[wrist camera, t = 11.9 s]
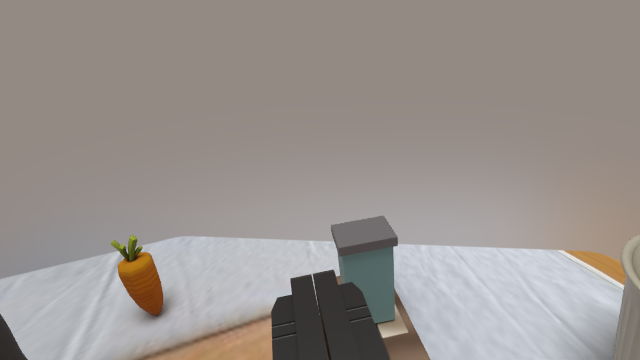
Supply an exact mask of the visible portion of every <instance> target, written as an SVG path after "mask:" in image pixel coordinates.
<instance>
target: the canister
mask: <svg viewBox="0 0 640 360" xmlns="http://www.w3.org/2000/svg"><path fill="white" fill-rule="evenodd" d="M621 263H622V267H623V270H624V272H625V274H626V280H625V286H624V291H623V297H622V304H621V309H620V315H619V321H618V327H617V333H616V341H615V349H614V357H613V360H640V234H639V235H637V236H635V237H634V238H632V239H630V240H629V241H628V242H627V243H626V244H625V246H624V247H623V250H622V253H621Z"/></svg>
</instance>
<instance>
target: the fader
mask: <svg viewBox="0 0 640 360" xmlns="http://www.w3.org/2000/svg"><path fill="white" fill-rule="evenodd" d="M331 231H332V235H333V238H334V241H335V244H336V248H337V251H338V260H339V268H340V277H341V284H344V283H349V282H352V283H354V284H355V285H356V286H357V287H358V288H359V289H360V290H361V291H362V292H363V295H364V298H365V300H366V303H367V306H368V308H369V310H370V313H371V316H372V318H373V320H374V323H379V322H384V321H389V320H393V319H395V297H394V261H393V246H398V240H397V239H398V238H397V235H396V234H395V233H394V231H393V229H392V228H391V226H390V225H389V224H388V222H387V220H386V219H385V217H384V216H379V217H374V218H368V219H363V220H358V221H352V222H346V223H341V224H335V225H331Z"/></svg>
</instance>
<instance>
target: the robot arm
mask: <svg viewBox="0 0 640 360" xmlns="http://www.w3.org/2000/svg"><path fill="white" fill-rule="evenodd" d="M313 278H314V284H315V290H316V295H315V290H314V285H313V281H312V276H311V274H310V275H305V276H301V277H296V278H291V289H292V295H288V296H283V297H279V298H277V300H276V302H275V304H274V306H273V309H272V311H271V315H272V340H273V341H272V350H273V360H389V358H388V356H387V353H386V351H385V348H384V346H383V343H382V341H381V338H380V336H379V333H378V330H377V328H376V325H375V323H374V320H373V318H372V316H371V313H370V310H369V308H368V306H367V303H366V300H365V298H364V295H363V292H362V291H361V290H360V289H359V288H358V287H357V286H356V285H355V284H354V283H352V282H349V283H344V284H339V285H338V282H337V279H336V275H335V272H334V270H329V271H324V272H319V273H315V274H313ZM316 296H317V300H316ZM317 302H318V305H317ZM318 308H319V310H318ZM319 314H320V315H319ZM320 319H321V320H320ZM321 324H322V325H321ZM0 360H28V359H27V358H26V357H25V356H24V354H23V353H22V351H21V350H20V348H19V346H18V344H17V342H16V340H15V338H14V336H13V334H12V332H11V330H10V329H9V327H8V325H7V324H6V322H5V320H4V319H3V317H2V316H1V314H0Z"/></svg>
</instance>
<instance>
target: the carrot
mask: <svg viewBox="0 0 640 360" xmlns="http://www.w3.org/2000/svg"><path fill="white" fill-rule="evenodd" d="M136 243H137V238H136V237H135V236H134V235H132V236H130V238H129V242H128V254H127V252H126V248H125V246H124V245H120V244H119V243H117V242H116V241H112V242H111V245H113V246H114V247H115V248H116V249H118V251H119V252H120V253H121V254H122V255H123V256H124V257H125V258H124V259H123V260H122V261H121V262H120V263H119V264H118V273H119V277H120V279H121V281H122V283H123V284H124V286H125V288H126V290H127V291H128V293H129V295H130V296H131V297H132V299H133V300H134V301H135V302H136V303H137V304H138V305H139V307H140V308H142V309H143V310H145V311H146V312H148V313H150V314H152V315H159V313H160V312H161V309H162V305H163V292H162V286H161V281H160V278H159V275H158V272H157V269H156V266H155V264H154V261H153V259H152V256H151V255H150V253H147V252H140V251H141V250H142V248H143V247H142V246H140V247H138V248H137V249H136V251H135V248H136Z"/></svg>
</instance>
